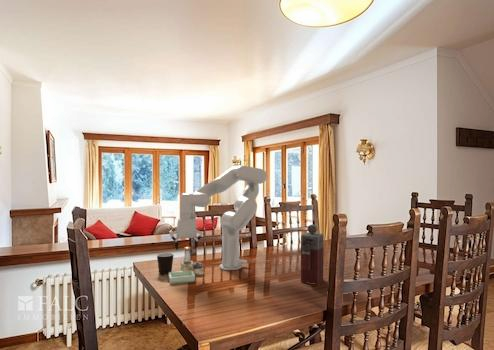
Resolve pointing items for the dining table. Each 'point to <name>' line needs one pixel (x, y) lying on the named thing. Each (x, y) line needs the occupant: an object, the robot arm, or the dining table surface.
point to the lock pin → (187, 255)
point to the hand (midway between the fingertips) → (186, 248)
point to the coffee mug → (165, 263)
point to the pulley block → (192, 267)
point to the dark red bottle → (312, 256)
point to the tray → (181, 277)
